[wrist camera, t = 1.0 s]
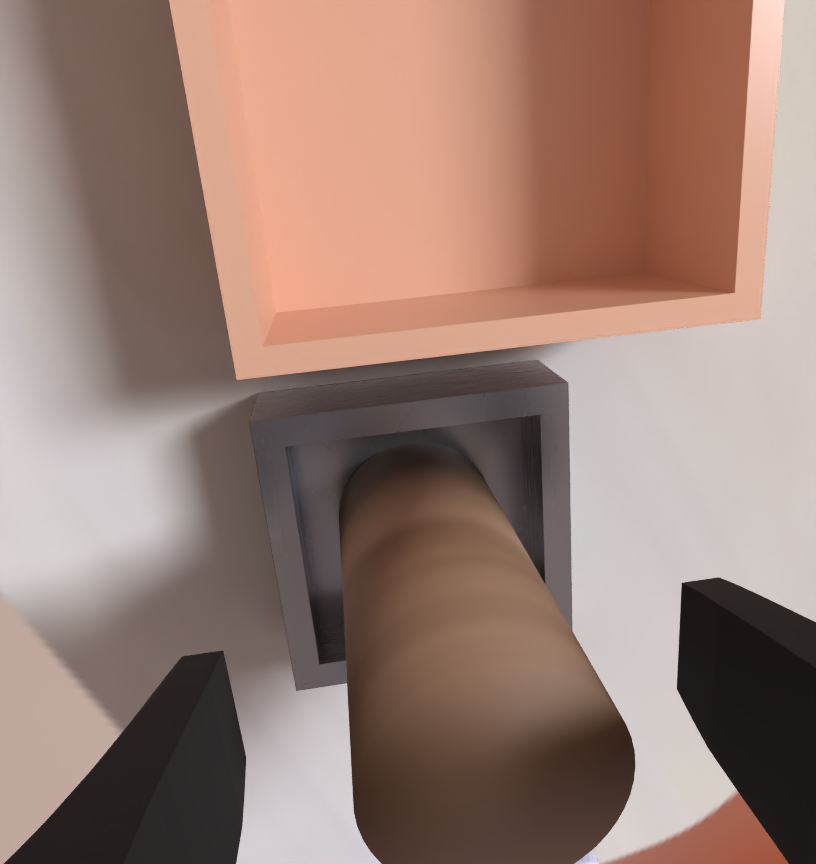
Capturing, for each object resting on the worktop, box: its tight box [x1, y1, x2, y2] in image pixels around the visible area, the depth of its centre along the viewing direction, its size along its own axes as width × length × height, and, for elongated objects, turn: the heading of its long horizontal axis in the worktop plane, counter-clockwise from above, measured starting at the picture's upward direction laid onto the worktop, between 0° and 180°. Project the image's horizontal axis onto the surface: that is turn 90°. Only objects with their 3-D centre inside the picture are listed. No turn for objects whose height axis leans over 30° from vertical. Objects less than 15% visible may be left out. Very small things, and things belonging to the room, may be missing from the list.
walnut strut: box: [339, 442, 635, 864], centre depth 12 cm, size 4×4×8 cm
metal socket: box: [249, 360, 572, 691], centre depth 16 cm, size 6×6×2 cm
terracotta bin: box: [169, 0, 785, 380], centre depth 12 cm, size 9×9×4 cm
